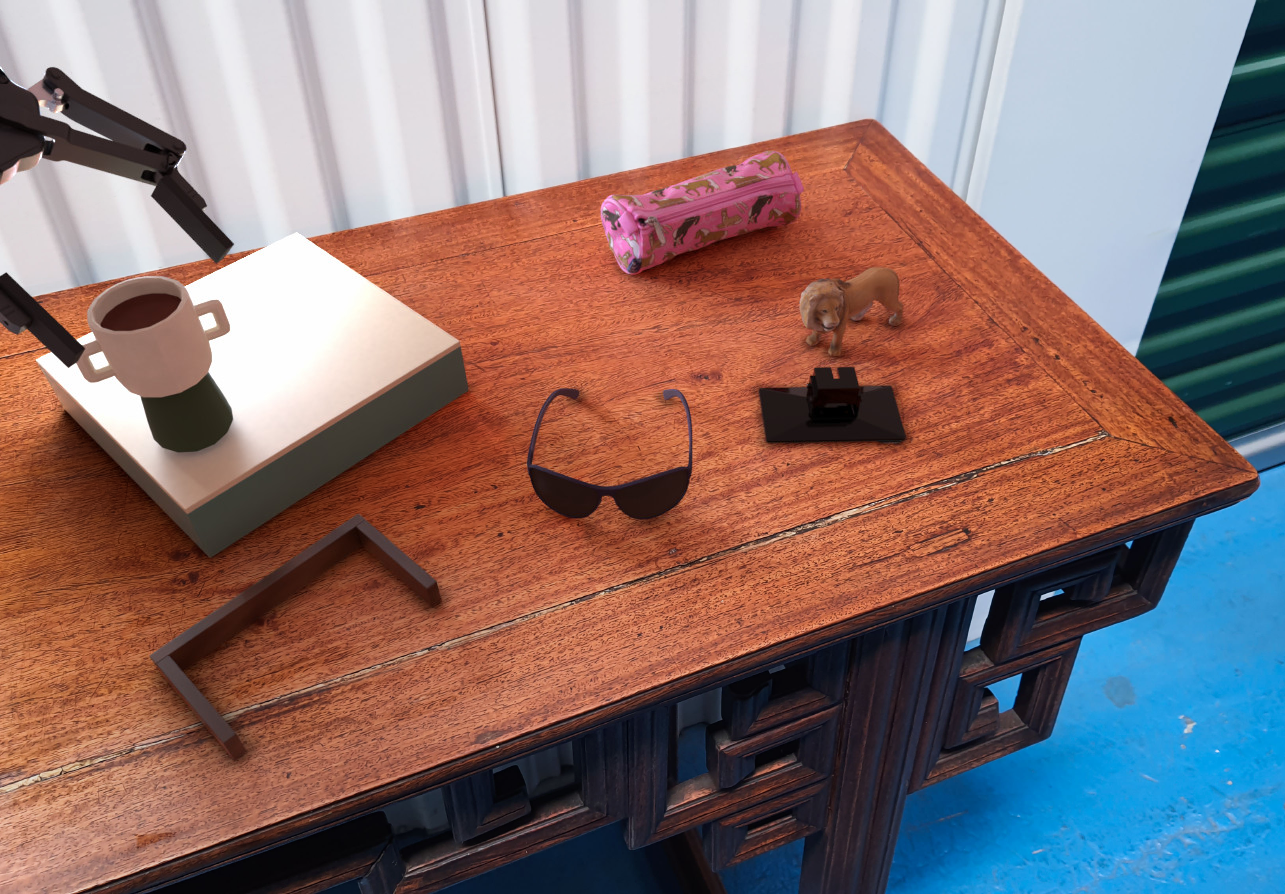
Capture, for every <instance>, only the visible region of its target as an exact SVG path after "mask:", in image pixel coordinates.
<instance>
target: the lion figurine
mask: <svg viewBox="0 0 1285 894" xmlns="http://www.w3.org/2000/svg"><path fill="white" fill-rule="evenodd" d="M899 297H900V278H899V275H898V273H897V272H896V271H895V270H894V269H892V268H889V267H883V266H873V267H869V268H867V269H866V270H864V271H863V272H861V273H860V274H858V275H856V276H855V277H853V278H851V279H848V280H846V281H843V280H842V279H840V278H830V277H826V278H823V277H822V278H819V279H817V280H815V281H812V282H810V284H808V285H807V286H806V288H805V289H804V290H803V291H802V292H801V294H800V300H799V309H798V310H799V312H800V317H801V322H802V323H803V325H804V327H805V328H806V329H807V330H811V332H812V333H811V335H807V337H806V340H805V343H806V344H807V345H809V346H812V347H813V346H816V345H817V344H818V343H819V342H820V339H821V336H822V335H827V334H829V333H831V332H832V333H833V334H832V339H831V342H830V347H829V348H828V354H829V356H830V357H840V356H841V354H842V349H843V339H844V335H845V333H846V331H847V330H846V329H847V324H848V319H851V320H852V321H854V322H855V321H856V322H857V321H860V320H862V319H863V318H864V317H865V315H866V314H867V313H868V312H869V310H870V309H872V307H873V305H874V302H873V301H877V302H878V303H879V304H880V305H881V306H883V308H885V310H888V311H890V312H894V315H892V316H890V317H889V318H888V324H889V325H891V326H894V327H897V326H900V325H901V323H902V320H903V312H904V303H902V302H901V300H900V299H899Z"/></svg>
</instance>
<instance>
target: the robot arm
mask: <svg viewBox="0 0 1285 894" xmlns="http://www.w3.org/2000/svg"><path fill="white" fill-rule="evenodd" d="M41 107H43V108H47V109H48V110H49V112H51V113H53V114H56V113H60V114H62V115H63V116H65V118H67V119H69V120H70V121H72V122H74V123H76V124H78V125H80V126H83V127H84V128H86V129H88V130H90V131H92V132H94V133H97V134H98V135H100V136H98V135H94V134H91V133H88V132H84V131H81V130H78V129H76V128H75V129H74V128H73V127H71V125H70V124H68V123H67V122H64V121H61V120H59V119H54V118H52V117H49V116H46V115H42V113H41ZM101 136H102V137H101ZM46 138H50V140H49V139H46ZM187 148H188V147H187V145H186V143H185V142H184V141H183V140H181V139H179V138H178V137H176V136H174V135H172V134H170V133H168V132H166V131H165V130H162V129H161V128H159V127H157V126H155V125H152V124H151V123H149V122H147V121H145V120H143V119H141V118H139V117H137V116H135V115H134V114H131V113H130V112H127V111H125V110H124V109H122V108H120V107H118V106H117V105H115V104H112V103H110V102H108V101H106V100H105V99H102V98H101V97H99V96H97V95H95V94H94V93H91V92H89V91H87V90H85V89H83V88H82V87H81V86H80V85H79V84H78V83H77V82H76V81H74V80H73V79H72V78H71V77H70V76H68V74H66V73H65V72H64V71H63V70H61V69H60V68H58V67H56V66H50V67H47V68H46V69H45V72H44V75H43V78H42V79H40V80H39V81H38V82H37V81H36V83H34V84H33V85H31V86H30V87H28V88H25V87H23V86H21V85H18V84H17V83H16V82H14V81H12V80H11V79H10V78H9V77H8V75H7V74H6V73H5V71H4V70H3V69H2V67H1V66H0V186H1V185H3V184H5V183H7V182H8V181H10V180H11V179H12V178H13V177H14V176H15V175H16V174H18V173H21V172H25V171H29V170H31V169H33V168H34V167H37V166H38V165H39V163H40V160H41V159H44V160H47V161H52V162H58V163H59V162H63V161H65V162H68V163H72V164H76V165H78V166H82V167H86V168H90V169H93V170H96V171H100V172H102V173H103V172H104V173H107V174H110V175H115V176H118V177H122V178H124V179H128V180H132V181H136V182H139V183H142V184H143V183H144V184H146V185H150V186H153V187H155V188H154V189H153V191H152V193H151V195H150V197H151V198H152V199H153V200H154V201H155V202H156V203H157V204H158V205H159V206H160V207H161V208H162V209H163V210H164V212H166V213H167V215H168V216H169V217H170V218H171V219H172V220H174V222H175V223H176V224H177V226H179V227H180V228H181V229H182V230H183V232H185V234H187V235H188V237H189V238H190V239H192V241H193V242H194V243H195V244H196V245H197V246H198V247H199V248H200V249H201V250H202V251H203V252H204V253H205V255H206V256H208V257H209V258H210V259H211V260H212V261H213V263H214V264H216V265H217V264H218V263H220V262H221V261H223V260H224V259H225V257H226V256H227V255H228V254H229V252H230V251H231V249H232V248H233V247H234V246H235V243H234V242H233V241H232V240H231V239H230V238H229V236H227V235H226V233H224V232H223V230H222V229H221V228H220V227H219V226H218V225H217V224H216V223H215V222H214V221H213V220H212V219H211V218H210V217H209V216H208V215H207V213H205V210H206V209H207V207H208V204H207V202H206V200H205V199H204V197H203V196H202V195H201V194H200V193H199V192H198V191H197V190H196V189H195V188H194V186H192V185H191V184H190V183H189V182H188V180H186V178H185V177H184V176H183V174H181V173H180V171H179V168H178V166H179V164H180V162H181V161H182V159H183V157H184V156H185V153H186V152H187ZM0 324H1V325H2V326H3V327H4V328H5V329H6V330H7V331H8V332H10V333H12V334H14V335H17V336H19V335H20V334H22V333H23V332H25V331H26V330H27V331H28V332H29V333H31V335H33V337H34V338H36V339H37V340H38V341H39V342H40V343H41V344H42V345H43V346H44V347H45V348H46V349H47V350H48V351H49V352H52V353H53V354H54V355H55V356H56V357H57V358H58V359H59V360H60V361H61V362H62V363H63V364H64V365H65V366H66V367H67V368H70V367H71V366H73V365H74V364H75V363H77V362H78V360H79V359H80V357H81V355H82V354H83V352H84V350H85V347H83V346H82V345H81V344H80V343H79V342H78V341H77V339H76V338H75V336H73V335H72V334H71V332H69V331H68V330H67V329H66V328H65V327H64V326H63V325H62V324H61V323H60V322H59V321H58V320H56V319H55V317H53V315H51V314H50V312H48V311H47V310H46V309H45V308H44V307H43V305H41V304H40V303H39V302H38V301H37V300H36V299H35V298H34V297H33V296H32V295H31V294H30V293H29V292H27V290H26V289H25V288H23V287H22V286H21V284H19V283H18V282H17V280H15V278H13V277H12V276H11V275H10V274H9V273H8V272H4V273H2V274H1V275H0Z"/></svg>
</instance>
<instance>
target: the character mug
mask: <svg viewBox="0 0 1285 894" xmlns="http://www.w3.org/2000/svg"><path fill="white" fill-rule="evenodd" d="M209 313H212V315H213V318H214V320H215V323H216V325H215V326H212V327H209V328H206V329H204V327H203V325H202V323H201V320H200V318H199V317H200V316H203V315H206V314H209ZM86 317H87V319H86V320H87V321H86V322H87V324H88V328H89V329H90V332H92V333H93V335H94V337H95V339H96V340H93V341H90V342H87V343H84V344H81V345H82V346H83V347H85V350H84V352H83V354H82V355H81V357H80V359H79V360H78V362H77V363H76V364H77V366H78V368H79V370H80V372H81V373H82V375H83V377H84V379H86V380H87V381H88V382H90V383H95V382H100V381H102V380H105V379H108V378H111V377H113V376H115V377H116V379H117V380H118V381H119V382H120V383H121V384H122V385H123V386H124V387H125V388H126V389H127V390H128V391H129V392H131V393H133V394H136V395H139V396H140V397H141V401H142V404H143V408H144V411H145V415H146V418H147V422H148V425H149V428H150V430H151V433H152V436H153V439H154V440H155V441H156V442H157V443H158V444H159V445H160V446H161V447H162V448H164V449H168V450H171V451H175V452H178V453H180V452H197V451H200V450H202V449H205V448H207V447H210V446H212V445H214V444H216V443H217V442H218V441H219V440H220V439H221V438H222V437H223V436H224V435H225V434H226V433H227V432H228V430H229V428H230V426H231V423H232V421H233V414H232V408H231V406H230V405H229V403H228V401H227V400H226V398H225V396H224V394H223V393H222V391H221V390H220V388H219V387H218V385H217V384H216V382H215V381H214V379H213V378H212V376H211V375H210V373H209V369H210V366H211V364H212V351H211V345H210V342H209V341H211V340H214V339H216V338H219V337H222V336H224V335H226V334H228V333H229V332H230V322H229V320H228V317H227V315H226V312H225V310H224V307H223V304H222V303H221V302H220V301H219V300H218V299H209V300H206V301H203V302H201V303H198V304H195V305H194V303H193V301H192V299H191V296H190V294H189V292H188V290H187V288H186V286H185V285H184V284H183V283H181V282H180V281H179V280H177V279H175V278H170V277H168V276H163V275H144V276H139V277H133V278H129V279H126V280H123V281H121V282H118V283H115V284H113V285H112V286H110V287H108V288H106V289H105V290H103V291H102V292H101V293H100V294H98V296H96V297H95V298H94V299H93V301H92V302H91V303H90V305H89V307H88V309H87V311H86ZM100 352H103V354H104V356H105V358H106V360H107V362H108V364H107V365H104V366H102V367H99V368H96V369H95V367H94V365H93V363H92V361H91V360H90V358H89V356H91V355H94V354H97V353H100Z"/></svg>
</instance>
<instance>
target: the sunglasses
mask: <svg viewBox="0 0 1285 894" xmlns="http://www.w3.org/2000/svg"><path fill="white" fill-rule="evenodd" d="M662 395H663V398H664V400H665V401H668V400H671V399H672V398H674V397H677V398H678V399H679V400H680V401H681V403H682V406H683V408H684V410H685V415H686V420H687V430H688V443H689V444H688V463H687V466H684V465H683V466H682V465H681V466H678V467H675V468H671V469H667V470H664V471H660V472H658V473H655V474H651V475H649V476H644V477H642V478H639V479H635V480H632V481H628V482H624V483H620V484H616V485H599V484H593V483H590V482H587V481H585V480H580V479H577V478H575V477H571V476H569V475H566V474H563V473H560V472H557V471H555V470H553V469H551V468H546V467H544V466H541V465H538V464H536V463H535V464H534V463H533V460H534V454H535V451H536V444H537V440H538V436H539V433H540V429H541V425H542V422H543V419H544V417H545V414H546V412H547V410H548V409H549V406H550V405H551V404H552V402H553V401H554V400H555V399H556V398H558V397H561V396H563V397H565V398H570V399H573V400H577V399H578V398H579V396H580V390H579V389H578V388H569V387H561V388H557V389H556V390H554V391H552V392H551V393H550V394H549V396H547V398H546V400H545V401H544V403H542V406H541V408H540V410H539V413H538V414H537V417H536V420H535V423H534V427H533V430H532V434H531V438H530V443H529V448H528V451H527V456H526V468H527V469H526V470H527V474H528V477H529V481H530V483H531V487H532V489H533V492H534V493H535V495H536V497H538V498H539V500H540V501H541V502H542V503H543V504H544V505H545V506H546V507H547V508H548V509H550V510H552V511H553V512H555V513H556V514H559V515H561V516H563V517H567V518H568V519H569V518H570V519H574V520H575V519H578V520H581V519H585V518H587V517H589V516H592V514H594V513H595V512H596V511H597V509H598V508H599V506H600V505H601V503H602V500H603V497H611V498H612V499H613V501H614V503H615V506H616V507H618V509H619V510H620V511H621V512H622V513H623V514H624V515H625V516H627V517H628V518H631V519H634V520H638V521H641V520H651V519H654V518H657V517H660V516H662V515H664V514H666V513H668V512H670V511H671V510H673V509H674V508H675V507H677V506H678V504H680V502H681V501H682V500H683V499H684V498H685V496H686V494H687V492H688V489H689V485H690V479H691V478H692V474H693V460H694V459H693V453H694V452H693V451H694V450H693V448H694V447H693V444H694V443H693V441H694V440H693V421H692V415H691V410H690V406H689V402H688V401H687V398H686V396H685V395H684V394H683V392H682V391H680V390H679V389H676V388H670V389H669V388H667V389H663V390H662Z"/></svg>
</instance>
